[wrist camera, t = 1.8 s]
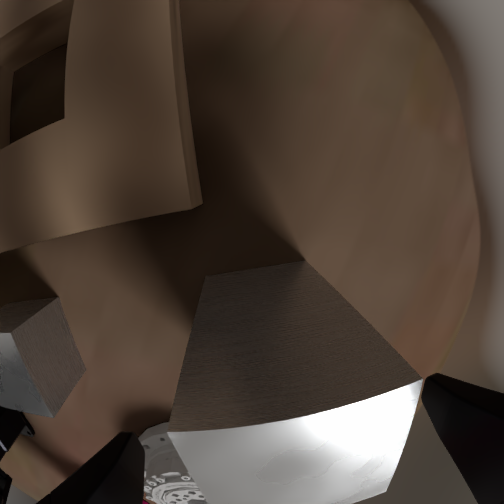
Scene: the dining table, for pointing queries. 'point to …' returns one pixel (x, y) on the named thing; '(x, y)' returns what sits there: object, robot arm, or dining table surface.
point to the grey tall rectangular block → (289, 393)
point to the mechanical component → (166, 470)
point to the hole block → (97, 119)
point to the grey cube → (37, 357)
